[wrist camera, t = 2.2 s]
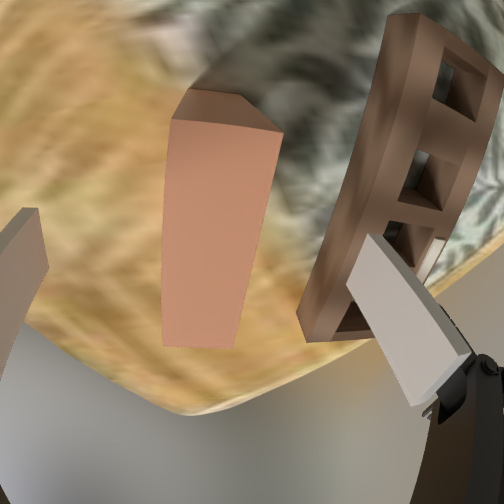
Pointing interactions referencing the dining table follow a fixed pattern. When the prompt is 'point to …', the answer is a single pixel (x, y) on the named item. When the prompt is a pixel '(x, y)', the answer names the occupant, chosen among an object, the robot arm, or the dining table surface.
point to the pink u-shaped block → (213, 214)
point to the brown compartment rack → (404, 166)
